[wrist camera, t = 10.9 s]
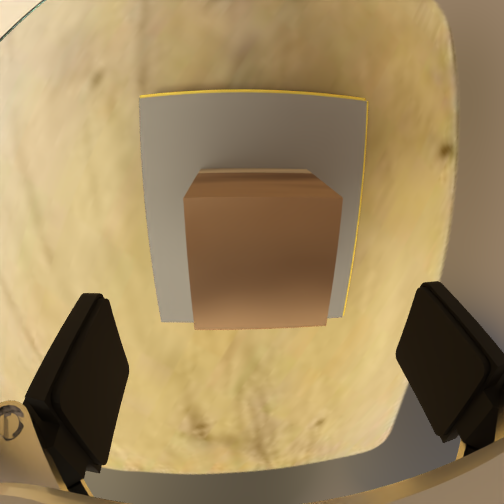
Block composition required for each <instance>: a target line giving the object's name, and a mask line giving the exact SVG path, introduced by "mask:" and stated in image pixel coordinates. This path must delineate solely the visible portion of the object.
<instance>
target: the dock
mask: <svg viewBox="0 0 504 504" xmlns="http://www.w3.org/2000/svg"><path fill="white" fill-rule="evenodd" d="M139 113H140V141H141V160H142V175H143V188H144V199H145V210H146V219H147V228H148V237H149V245H150V253H151V260H152V268H153V274H154V281H155V288H156V294H157V300H158V306H159V312H160V317H161V322H194V320H193V311H192V301H191V292H190V281H189V271H188V259H187V247H186V234H185V219H184V203H183V197H184V196H185V194H186V192H187V191H188V189H189V187H190V186H191V184H192V182H193V181H194V179H195V177H196V176H197V174H198V172H199V171H200V169H220V168H283V169H307V170H308V171H310V172H311V173H312V174H314V175H315V176H316V177H317V178H319V179H320V180H321V181H323V182H324V183H325V184H326V185H328V186H329V187H330V188H331V189H333V190H334V191H335V192H336V193H338V194H339V195H340V196H341V197H343V204H342V214H341V223H340V232H339V241H338V249H337V257H336V264H335V271H334V278H333V285H332V292H331V298H330V305H329V311H328V317H327V318H338V317H342V316H344V312H345V307H346V302H347V296H348V291H349V285H350V279H351V273H352V267H353V261H354V254H355V247H356V240H357V233H358V225H359V217H360V209H361V200H362V190H363V180H364V169H365V156H366V142H367V123H368V102H367V101H366V98H360V97H352V96H344V95H335V94H325V93H314V92H301V91H284V90H249V89H234V90H199V91H182V92H169V93H158V94H148V95H140V98H139Z"/></svg>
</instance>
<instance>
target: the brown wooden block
mask: <svg viewBox="0 0 504 504" xmlns="http://www.w3.org/2000/svg"><path fill="white" fill-rule="evenodd" d="M183 203H184V219H185V234H186V247H187V259H188V271H189V281H190V292H191V301H192V311H193V320H194V328H195V330H236V329H272V328H294V327H312V326H326V323H327V317H328V311H329V305H330V298H331V292H332V285H333V278H334V271H335V264H336V257H337V249H338V241H339V232H340V223H341V214H342V204H343V197H341V196H340V195H339V194H338V193H336V192H335V191H334V190H333V189H331V188H330V187H329V186H328V185H326V184H325V183H324V182H323V181H321V180H320V179H319V178H317V177H316V176H315V175H314V174H312V173H311V172H310V171H308V170H307V169H283V168H220V169H200V171H199V172H198V174H197V176H196V177H195V179H194V181H193V182H192V184H191V186H190V187H189V189H188V191H187V192H186V194H185V196H184V197H183Z"/></svg>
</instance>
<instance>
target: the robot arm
mask: <svg viewBox="0 0 504 504" xmlns="http://www.w3.org/2000/svg"><path fill="white" fill-rule="evenodd" d="M396 359H397V361H398V363H399V365H400V367H401V369H402V370H403V372H404V374H405V376H406V378H407V380H408V381H409V383H410V385H411V387H412V389H413V391H414V393H415V395H416V396H417V398H418V400H419V402H420V404H421V406H422V408H423V410H424V412H425V414H426V416H427V418H428V420H429V422H430V424H431V426H432V428H433V430H434V432H435V434H436V435H438V436H440V437H441V439H442V442H443V443H445V442H447V441H450V440H453V439H455V438H456V437H457V436H458V435H459V436H460V438H461V442H460V446H459V450H458V454H457V458H456V461H454V462H451V463H449V464H446V465H444V466H442V467H439V468H437V469H434V470H432V471H429V472H427V473H424V474H421V475H418V476H415V477H412V478H409V479H406V480H403V481H400V482H398V483H394V484H391V485H387V486H384V487H380V488H377V489H373V490H369V491H366V492H361V493H357V494H353V495H348V496H344V497H339V498H335V499H329V500H323V501H318V502H311V503H305V504H504V353H503V352H502V351H501V350H500V348H499V347H498V346H497V345H496V343H495V342H494V341H493V340H492V339H491V338H490V336H489V335H488V334H487V333H486V332H485V331H484V329H483V328H482V327H481V326H480V325H479V323H478V322H477V321H476V320H475V319H474V318H473V317H472V316H471V314H470V313H469V312H468V311H467V310H466V309H465V308H464V307H463V306H462V305H461V304H460V303H459V301H458V300H457V299H456V298H455V297H454V296H453V295H452V294H451V293H450V292H449V291H448V290H447V289H446V288H445V287H444V285H443V284H442V283H440V282H438V281H436V282H425V283H422V285H421V286H420V288H418V289H417V291H416V294H415V297H414V300H413V303H412V306H411V310H410V313H409V316H408V319H407V322H406V324H405V327H404V330H403V333H402V336H401V338H400V341H399V344H398V347H397V349H396ZM128 375H129V365H128V361H127V358H126V355H125V352H124V349H123V346H122V343H121V340H120V337H119V333H118V330H117V327H116V323H115V320H114V316H113V313H112V309H111V306H110V302H109V300H108V299H104V297H103V295H102V294H100V293H83V294H82V295H81V296H80V298H79V300H78V301H77V303H76V304H75V306H74V308H73V309H72V311H71V313H70V314H69V316H68V317H67V319H66V321H65V323H64V324H63V326H62V328H61V329H60V331H59V333H58V335H57V336H56V338H55V340H54V342H53V343H52V345H51V347H50V349H49V351H48V352H47V354H46V356H45V358H44V360H43V362H42V363H41V365H40V367H39V369H38V371H37V373H36V375H35V377H34V379H33V381H32V383H31V385H30V387H29V389H28V391H27V393H26V395H25V400H24V402H23V404H22V403H20V402H17V401H10V400H8V401H4V402H1V403H0V504H131V503H124V502H117V501H112V500H106V499H101V498H96V497H94V496H93V495H92V493H91V492H90V490H89V488H88V487H87V485H86V483H85V481H84V480H83V479H84V476H85V471H91V472H96V473H100V470H101V465H105V464H106V463H107V461H108V456H109V452H110V447H111V443H112V438H113V434H114V430H115V426H116V421H117V417H118V413H119V409H120V405H121V402H122V398H123V394H124V390H125V386H126V383H127V379H128Z"/></svg>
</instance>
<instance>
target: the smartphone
mask: <svg viewBox="0 0 504 504" xmlns="http://www.w3.org/2000/svg"><path fill="white" fill-rule="evenodd" d="M44 1H46V0H0V42H1V41H2V40H3V39H4V37H5V36H7V35H8V34H9V33H10V32H11V31H12V30H13V29H14V28H15V27H16V26H17V25H18V24H19V23H20V22H21V21H22V20H23V19H25V18H26V17H27V16H28V15H29V14H30V13H31V12H32V11H34V10H35V9H36V8H37V7H38V6H40V5H41V4H42V3H43V2H44Z"/></svg>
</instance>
